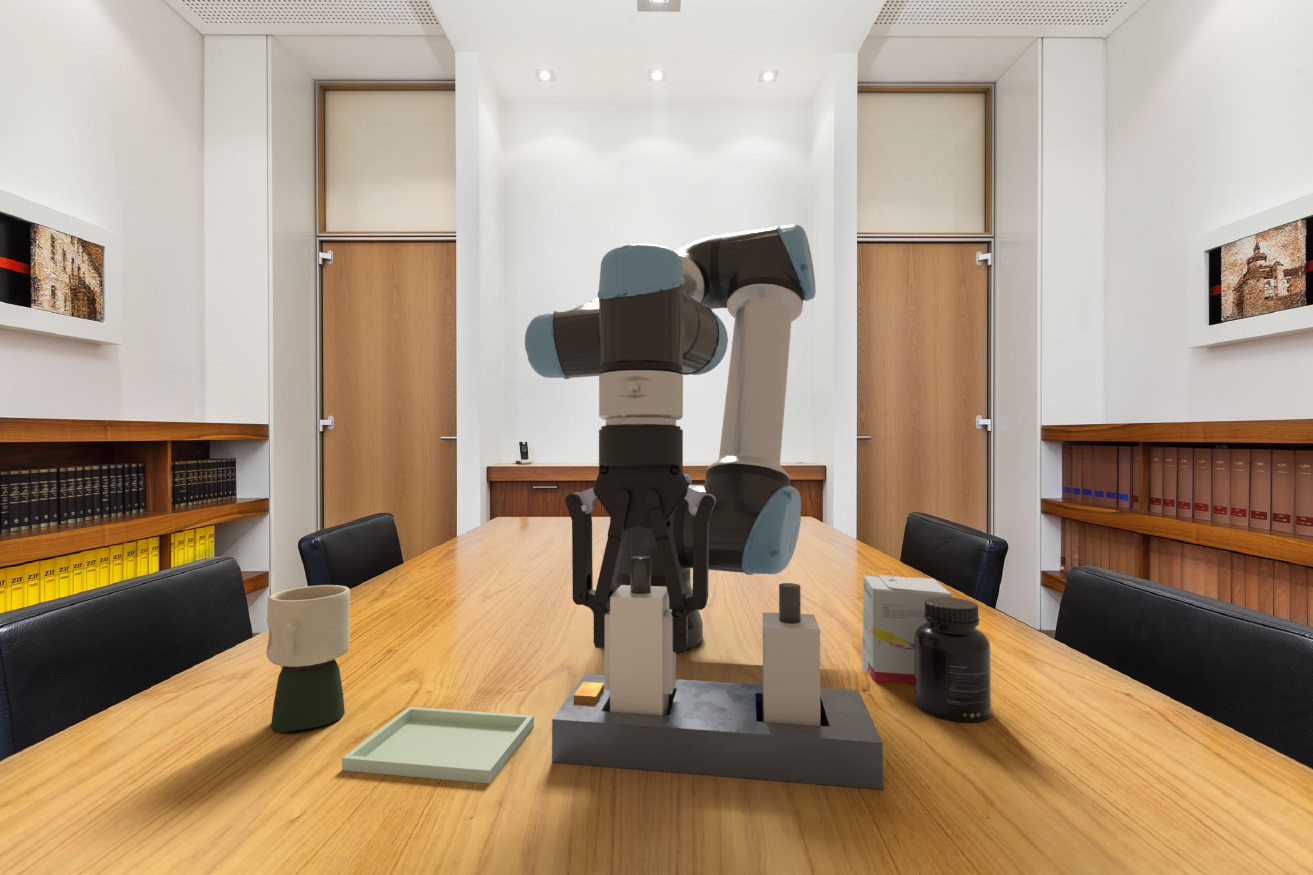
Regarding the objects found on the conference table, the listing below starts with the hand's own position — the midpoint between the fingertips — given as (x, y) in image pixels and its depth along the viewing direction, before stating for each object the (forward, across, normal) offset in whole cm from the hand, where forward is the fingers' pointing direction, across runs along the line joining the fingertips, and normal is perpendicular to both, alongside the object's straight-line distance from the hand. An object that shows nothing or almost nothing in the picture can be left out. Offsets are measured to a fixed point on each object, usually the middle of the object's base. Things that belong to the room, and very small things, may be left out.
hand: (640, 685), depth 53 cm
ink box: (+6, +28, +21) cm, 35 cm away
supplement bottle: (+6, +30, +11) cm, 32 cm away
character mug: (+6, -34, +1) cm, 34 cm away
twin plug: (+5, +13, 0) cm, 14 cm away
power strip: (+6, +6, 0) cm, 9 cm away
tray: (+6, -18, -2) cm, 19 cm away
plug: (+3, 0, 0) cm, 3 cm away
